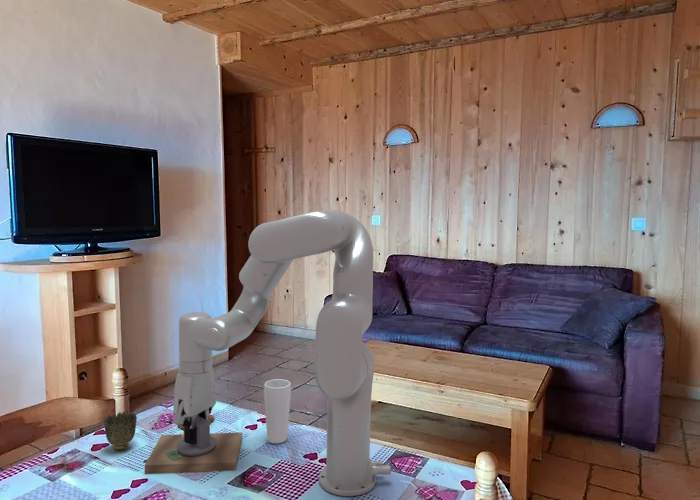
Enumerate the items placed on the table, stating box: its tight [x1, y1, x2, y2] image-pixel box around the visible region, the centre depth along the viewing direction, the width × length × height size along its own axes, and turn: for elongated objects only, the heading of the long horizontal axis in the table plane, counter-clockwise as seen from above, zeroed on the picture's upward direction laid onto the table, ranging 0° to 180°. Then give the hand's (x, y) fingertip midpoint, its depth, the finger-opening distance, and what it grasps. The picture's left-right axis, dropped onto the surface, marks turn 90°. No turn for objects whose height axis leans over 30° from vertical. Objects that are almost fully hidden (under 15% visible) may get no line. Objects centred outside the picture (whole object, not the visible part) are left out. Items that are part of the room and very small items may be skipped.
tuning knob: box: [177, 415, 216, 456], centre depth 123 cm, size 11×9×7 cm
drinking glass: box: [263, 378, 292, 444], centre depth 131 cm, size 7×7×15 cm
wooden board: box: [144, 432, 243, 475], centre depth 123 cm, size 20×15×2 cm
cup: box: [103, 411, 138, 452], centre depth 125 cm, size 8×7×8 cm
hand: (196, 438), depth 122 cm, fingers closed on tuning knob, 3 cm apart
